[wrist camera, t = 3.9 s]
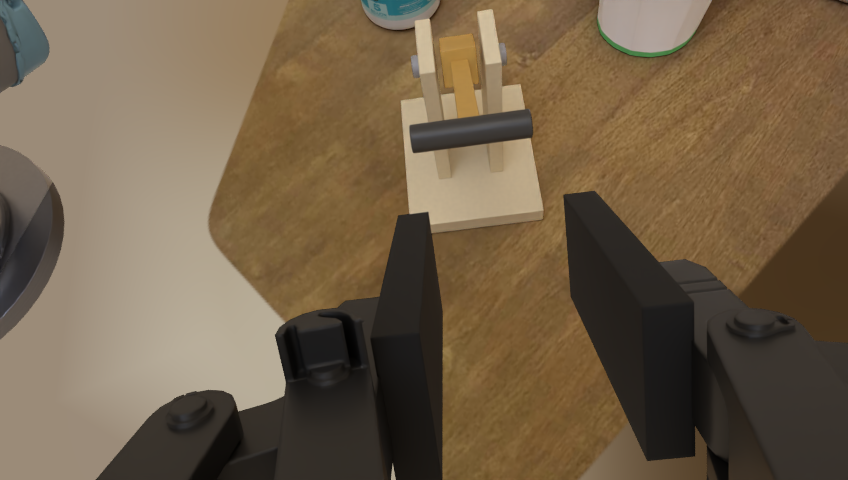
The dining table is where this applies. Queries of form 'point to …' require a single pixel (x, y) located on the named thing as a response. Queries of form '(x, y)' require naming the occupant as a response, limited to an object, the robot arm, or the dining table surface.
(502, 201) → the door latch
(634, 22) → the cup
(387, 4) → the pill bottle
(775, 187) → the dining table surface
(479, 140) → the latch lever
